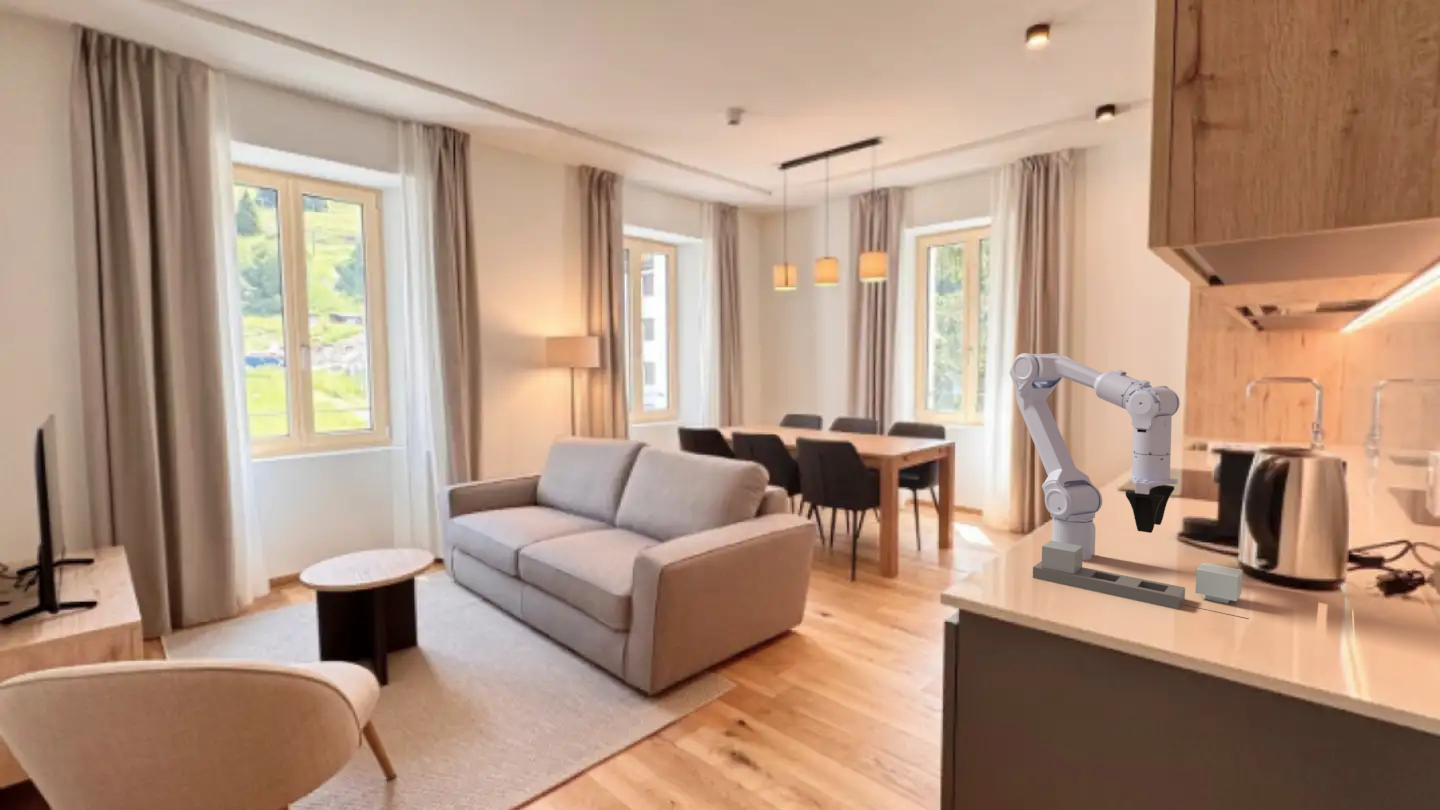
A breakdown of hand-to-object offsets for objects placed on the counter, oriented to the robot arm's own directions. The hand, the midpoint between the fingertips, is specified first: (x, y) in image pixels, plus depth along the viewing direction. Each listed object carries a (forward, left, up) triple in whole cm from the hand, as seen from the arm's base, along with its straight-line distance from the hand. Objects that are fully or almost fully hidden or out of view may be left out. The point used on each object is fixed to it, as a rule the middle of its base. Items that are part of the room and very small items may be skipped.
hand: (1149, 527), depth 116 cm
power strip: (+11, 0, -10) cm, 15 cm away
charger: (+4, +11, -10) cm, 15 cm away
